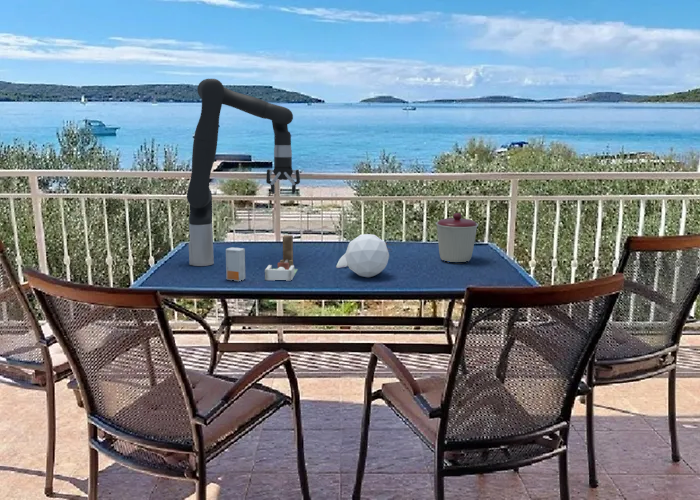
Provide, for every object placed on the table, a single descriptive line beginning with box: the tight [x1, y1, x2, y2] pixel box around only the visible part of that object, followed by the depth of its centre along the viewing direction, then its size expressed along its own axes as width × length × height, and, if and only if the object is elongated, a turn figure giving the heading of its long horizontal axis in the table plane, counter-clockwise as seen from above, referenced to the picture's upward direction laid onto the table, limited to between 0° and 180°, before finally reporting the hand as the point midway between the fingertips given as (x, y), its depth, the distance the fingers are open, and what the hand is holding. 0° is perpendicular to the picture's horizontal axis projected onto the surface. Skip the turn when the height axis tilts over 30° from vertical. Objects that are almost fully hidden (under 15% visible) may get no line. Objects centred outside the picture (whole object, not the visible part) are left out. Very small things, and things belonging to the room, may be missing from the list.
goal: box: [264, 264, 295, 282], centre depth 228 cm, size 10×8×4 cm
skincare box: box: [225, 247, 246, 282], centre depth 224 cm, size 6×4×12 cm
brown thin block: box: [277, 234, 294, 270], centre depth 242 cm, size 4×15×12 cm, turn 177°
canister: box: [435, 212, 479, 263], centre depth 257 cm, size 18×18×21 cm
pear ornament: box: [335, 233, 390, 278], centre depth 237 cm, size 16×22×28 cm
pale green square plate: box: [272, 267, 299, 276], centre depth 237 cm, size 10×9×1 cm
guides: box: [279, 259, 294, 268], centre depth 245 cm, size 5×1×3 cm, turn 87°
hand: (283, 193), depth 258 cm, fingers open, 8 cm apart
